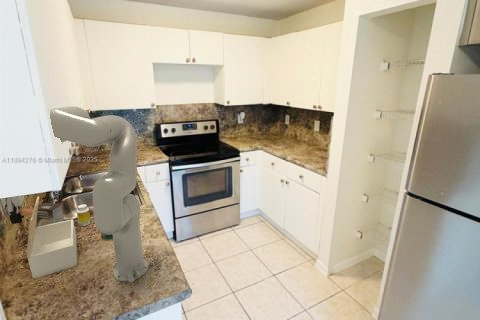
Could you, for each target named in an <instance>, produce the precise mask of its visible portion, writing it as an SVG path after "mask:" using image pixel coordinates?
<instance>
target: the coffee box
mask: <svg viewBox="0 0 480 320" xmlns="http://www.w3.org/2000/svg"><path fill="white" fill-rule="evenodd" d="M63 221H66V220H65V215H64V209H63V204H62V203H55V202H54V203H53V202H43V203H41V204H39V205H38V214H37V223H36V226H37V227H40V226H44V225H49V224H53V223H58V222H63Z"/></svg>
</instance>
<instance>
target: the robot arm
mask: <svg viewBox="0 0 480 320" xmlns="http://www.w3.org/2000/svg"><path fill="white" fill-rule="evenodd" d="M49 110H50V119H51V125H52V129H53V133H54V136H55V137H57V138H60V140H61V142H62V143H61V144H63V143H65V142H71V143H74V144H78V145H80V146H83V147H84V146H86V147H89V148H93V147H95V148H97V147H100V146H102V145H103V146H104V145H106V144H108V143H111V148H110V152H109V160H108V161H109V169H108V172H107V173H106V174H104V175H102V176H101V177H99V178H98V179H97V180H96V182H95V183H94V185H93V188H92V213H93V221H94V226H95V227H96V229H97V230H98V231H99V232H100V234H101V233H103V234H106V235H111V234H113V239H112V241H113V247H114V255H115V261H116V266H115V268H114V269H113V277H114V280H117V281H119V282H124V283H125V282H126V283H127V282H128V283H133V282H134V281H135V280H137V279H139V278H141V277H143V275H145V274H146V273H147V272H148V271H149V262H148V260H146V259H145V258H144V254H143V253H144V252H143V242H142V234H141V233H142V232H141V222H140V221H141V219H140V218H141V204H140V201H139V199H138V197H136V196H135V195H134V194H132V191H134V189H135V188H136V187H137V182H138V181H137V179H138V177H137V174H138V173H137V169H138V168H137V164H138V163H137V160H138V159H137V153H138V152H137V151H138V150H137V149H138V137H137V133H136V131H135V129H134V127H133V125H132V124H131V122H129V120H127V119H126V118H124V117H122V116H119V115H110V114H109V115H103V116H98V117H93V118H91V117H90V114H89V113H88V111H86V110H85V109H83V108H82V107H79V106H64V107H56V108H51V109H49ZM24 200H25V195H24V196H17V197H10V198H4V199H1V198H0V201H1V205H2V207H3V209H6V210H7V213H8V216H9V220H10V222H11V225H16V224H17V225H18V224H21V223H23V219H24V218H25V216H21V213H20V212H19V209H23V208H22V204H23V203H24Z"/></svg>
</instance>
